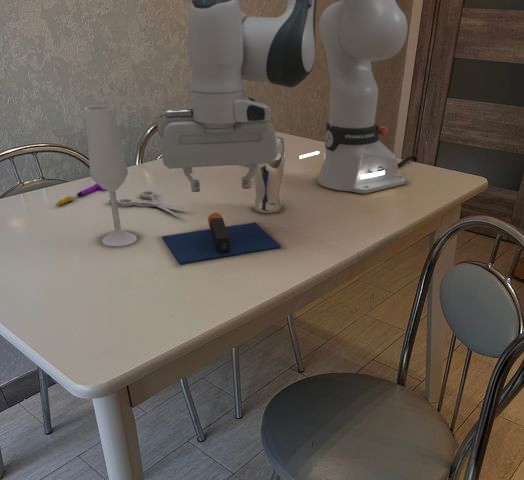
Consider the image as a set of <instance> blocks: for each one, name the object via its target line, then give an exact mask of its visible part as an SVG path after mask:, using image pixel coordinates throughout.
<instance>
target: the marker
mask: <svg viewBox="0 0 524 480" xmlns="http://www.w3.org/2000/svg"><path fill="white" fill-rule="evenodd" d="M207 223H208V225H209V229H211V233H212V237H213V240H214V244H215V247H216V251H217V253H228V252H230V238H229V235H228V232H227V229H226V227H227V226H226V224H225V220H224V218H223V216H222V215H221V214H220V213H218V212H212V213H210V214H209V216H208V218H207Z"/></svg>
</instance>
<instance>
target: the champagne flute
mask: <svg viewBox="0 0 524 480" xmlns="http://www.w3.org/2000/svg"><path fill="white" fill-rule="evenodd" d="M84 114H85V115H84V116H85V127H86V139H87V151H88V152H87V153H88V163H89V175H90V177H91V179H92V180H93V182H95V184H98V185H100V186H101V187H102V188H104V189H105V190H104V191H108V195H109V200H110V202H111V204H110V208H111V215H112V221H113V226H114V230H113V231H112V232H110V233H108V234H107V235H105V236H104V237H103V238H102V239H101V242H102V244H104V245H105V246H109V247H123V246H127V245H131V244H134V243H135V242H136V241H137V236H136V235H135V234H133V233H131V232H128V231H125V230H124V229H122V226H121V221H120V220H121V219H120V213H119V207H118V206H119V205H118V204H117V200H118V199H117V193H116V191H117V190H118V189H119V188H120V187H121V186H122V185H123V184H124V183H125V181H126V179H127V177H128V174H129V170H128V166H127V161H126V158H125V157H126V156H125V154H124V153H125V152H124V149H123V144H122V139H121V135H120V132H119V127H118V121H117V118H116V113H115V109H114V107H113V106H112V105H101V104H99V105H91V106H87V107H85V108H84Z"/></svg>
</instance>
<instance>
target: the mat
mask: <svg viewBox="0 0 524 480" xmlns="http://www.w3.org/2000/svg"><path fill="white" fill-rule="evenodd" d="M226 229H227V232H228V235H229V238H230V252H228V253H217V251H216V247H215V244H214V240H213V237H212V233H211V229H210V228H209V229H202V230H196V231H189V232H188V231H187V232H182V233H175V234H169V235H162V236H161V238H162V240H163V241H164V243H165V244H166V246H167V247H168V249H169V250H170V252H171V253H172V255H173V256H174V258H175V260H176V261H177V262H178V264H179V265H186V264H193V263H199V262H204V261H210V260H211V261H212V260H217V259H223V258H227V257H228V258H229V257H234V256H240V255H246V254H252V253H258V252H263V251H264V252H265V251H270V250H271V251H272V250H275V249H282V245H281V244H279V243H278V241H277V240H275V239H274V238H273V237H272V236H271V235H270V234H269V233H267V231H266V230H265V229H263V228H262V227H261V226H260V225H259V224H258V223H256V222H248V223H242V224H235V225H227V226H226Z"/></svg>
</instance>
